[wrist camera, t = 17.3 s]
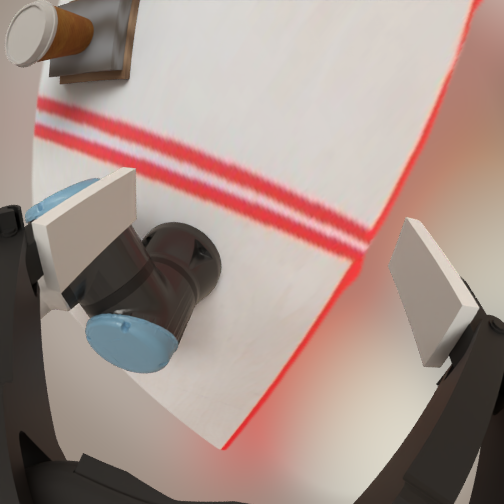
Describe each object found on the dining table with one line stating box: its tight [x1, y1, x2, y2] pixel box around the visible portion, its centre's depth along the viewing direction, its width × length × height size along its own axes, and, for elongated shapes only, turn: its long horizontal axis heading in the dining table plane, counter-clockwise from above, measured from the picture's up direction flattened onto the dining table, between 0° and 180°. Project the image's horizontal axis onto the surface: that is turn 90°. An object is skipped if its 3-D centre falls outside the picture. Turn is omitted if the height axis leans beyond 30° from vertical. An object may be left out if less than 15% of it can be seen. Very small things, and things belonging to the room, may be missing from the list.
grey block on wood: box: [49, 0, 140, 84], centre depth 34 cm, size 16×14×5 cm
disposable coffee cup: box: [5, 0, 94, 67], centre depth 27 cm, size 10×10×12 cm
